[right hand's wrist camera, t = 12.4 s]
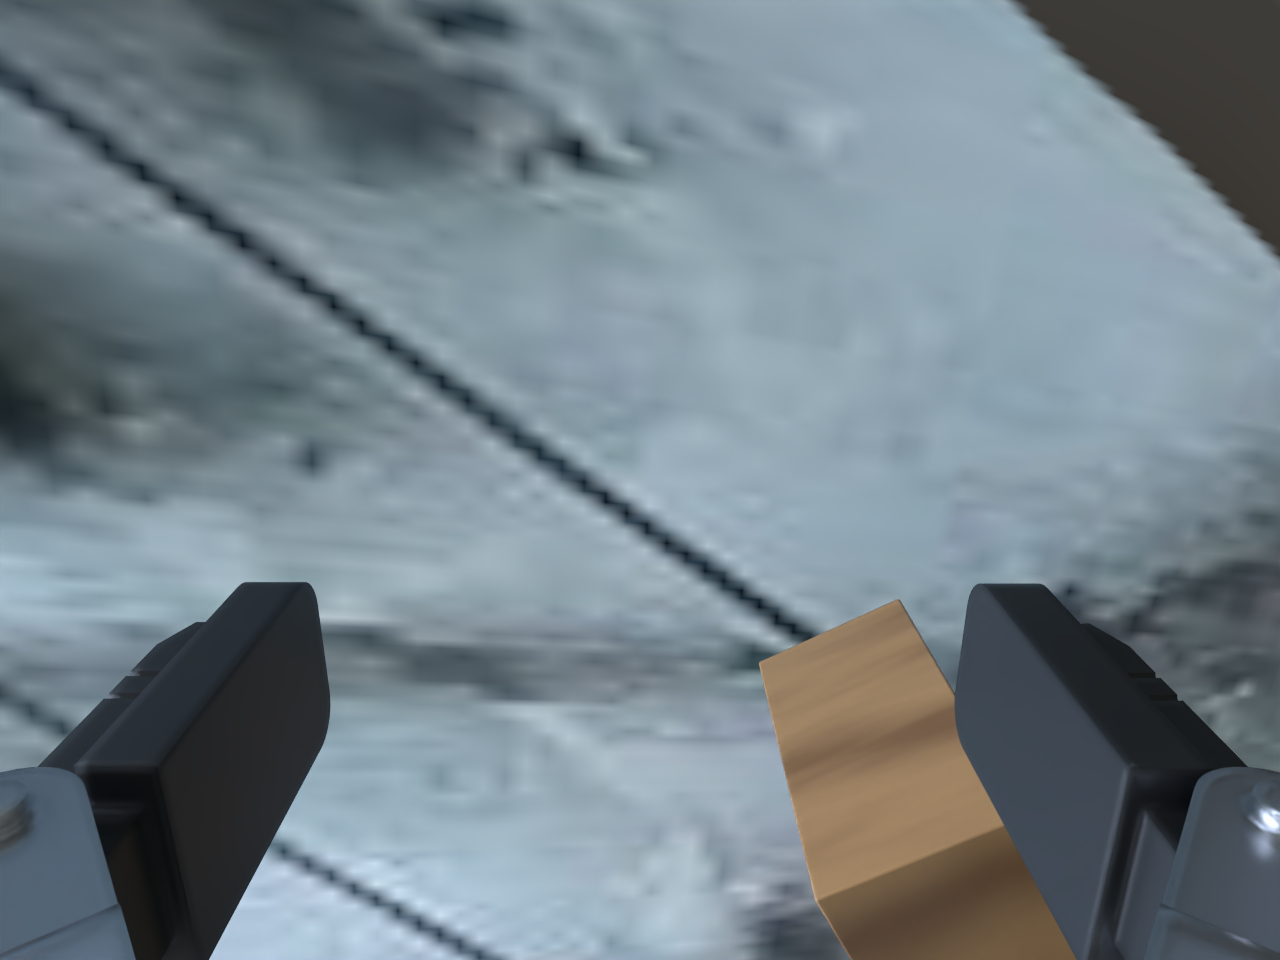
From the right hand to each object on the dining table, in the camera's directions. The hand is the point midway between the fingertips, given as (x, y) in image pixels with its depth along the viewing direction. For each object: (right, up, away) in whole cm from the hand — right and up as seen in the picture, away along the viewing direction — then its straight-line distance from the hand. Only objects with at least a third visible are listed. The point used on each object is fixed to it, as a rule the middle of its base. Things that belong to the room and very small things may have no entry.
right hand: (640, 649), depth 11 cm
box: (+14, -15, +28) cm, 35 cm away
